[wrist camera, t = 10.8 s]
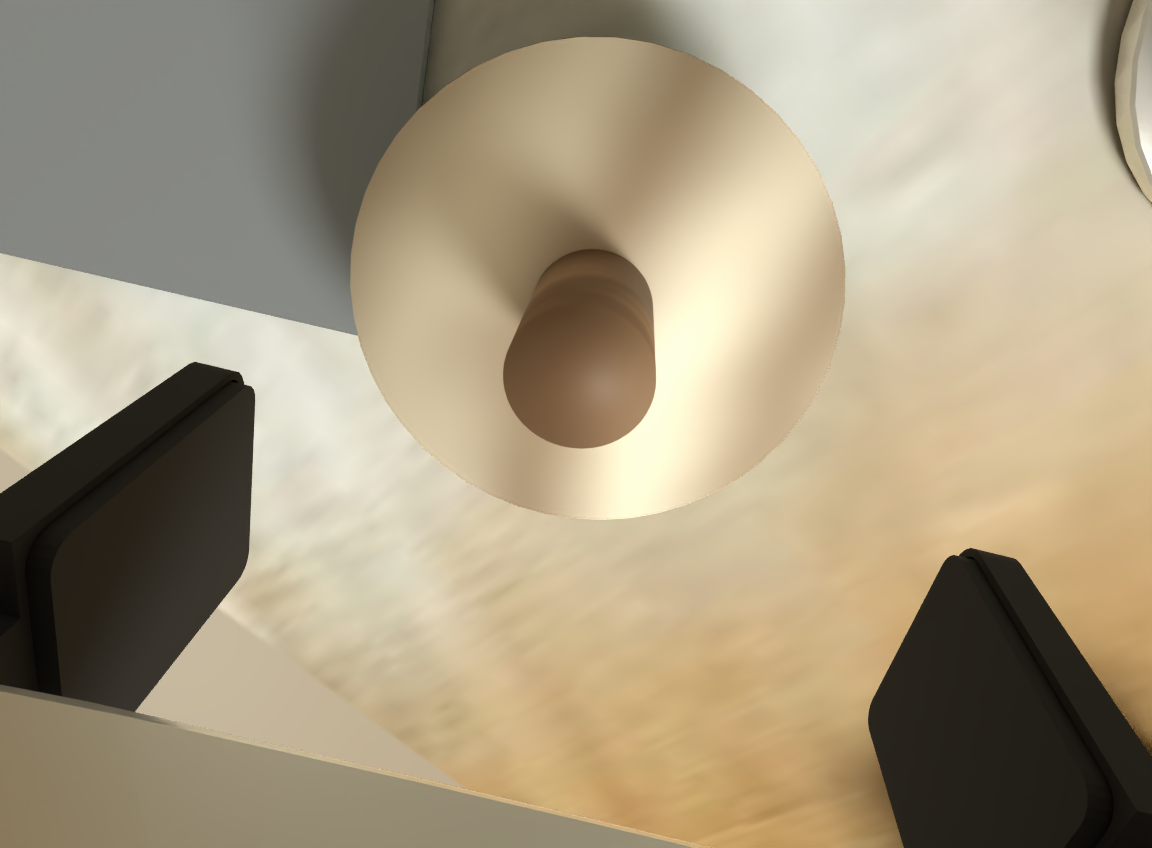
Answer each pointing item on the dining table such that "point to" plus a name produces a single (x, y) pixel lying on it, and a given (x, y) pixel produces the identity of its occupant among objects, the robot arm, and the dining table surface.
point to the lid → (597, 278)
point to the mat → (204, 140)
